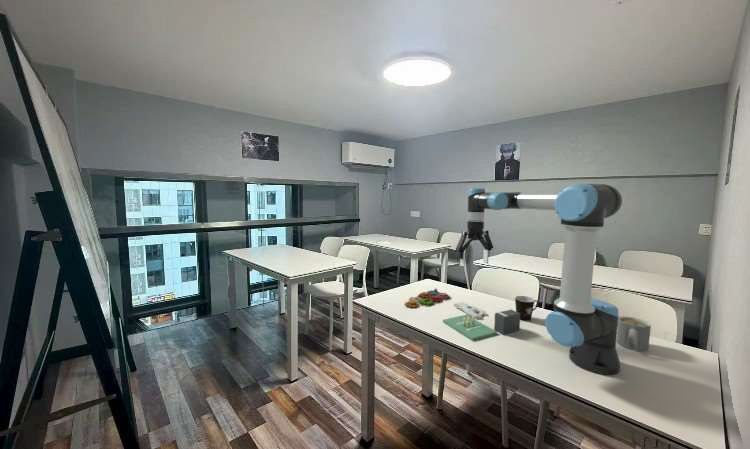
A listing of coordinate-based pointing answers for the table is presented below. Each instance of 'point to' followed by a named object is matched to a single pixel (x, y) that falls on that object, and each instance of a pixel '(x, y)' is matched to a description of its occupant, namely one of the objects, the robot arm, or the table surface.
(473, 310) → the gun
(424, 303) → the gear puzzle
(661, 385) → the table surface
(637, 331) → the coffee mug
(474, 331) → the board
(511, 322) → the plug
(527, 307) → the coffee mug
